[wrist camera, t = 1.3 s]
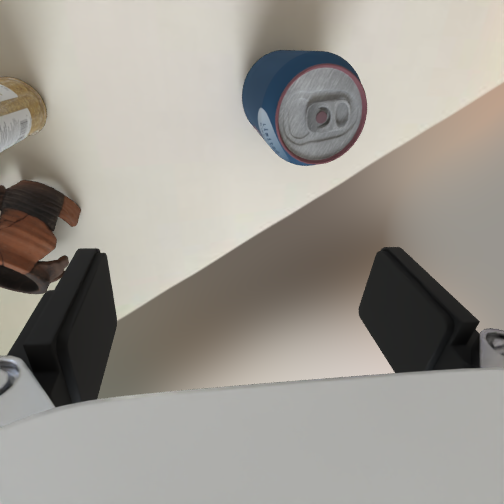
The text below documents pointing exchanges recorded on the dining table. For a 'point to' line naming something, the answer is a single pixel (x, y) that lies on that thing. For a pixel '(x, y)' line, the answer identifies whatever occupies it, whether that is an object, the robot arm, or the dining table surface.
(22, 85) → the sprinkles bottle
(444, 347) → the robot arm
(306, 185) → the dining table surface
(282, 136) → the soda can
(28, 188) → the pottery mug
